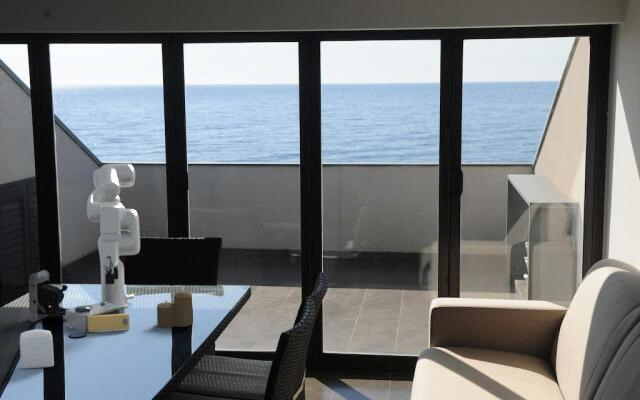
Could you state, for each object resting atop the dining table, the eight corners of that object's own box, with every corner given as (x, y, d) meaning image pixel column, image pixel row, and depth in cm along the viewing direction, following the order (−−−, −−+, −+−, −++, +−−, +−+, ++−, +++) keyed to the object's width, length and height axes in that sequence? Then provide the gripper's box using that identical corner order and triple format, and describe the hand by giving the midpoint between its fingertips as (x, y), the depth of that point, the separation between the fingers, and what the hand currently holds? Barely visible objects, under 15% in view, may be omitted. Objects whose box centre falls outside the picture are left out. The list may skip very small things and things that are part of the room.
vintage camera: (63, 325, 312) (64, 275, 310) (28, 322, 315) (28, 272, 313) (76, 319, 321) (76, 271, 319) (41, 316, 324) (41, 268, 322)
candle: (200, 321, 316) (199, 284, 315) (184, 329, 304) (183, 291, 302) (170, 318, 321) (169, 282, 319) (152, 326, 308) (151, 289, 306)
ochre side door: (129, 328, 304) (128, 311, 304) (129, 330, 302) (128, 313, 301) (85, 331, 300) (84, 314, 299) (85, 333, 298) (84, 316, 297)
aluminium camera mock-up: (105, 317, 322) (104, 298, 321) (124, 322, 314) (124, 303, 313) (66, 326, 309) (65, 307, 308) (85, 332, 300) (85, 312, 299)
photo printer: (19, 369, 256) (18, 332, 255) (22, 365, 261) (20, 329, 259) (52, 367, 258) (51, 331, 257) (54, 363, 262) (53, 327, 261)
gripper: (104, 233, 312) (106, 277, 313) (96, 240, 294) (97, 286, 296) (124, 233, 312) (125, 276, 314) (116, 240, 295) (118, 286, 297)
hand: (112, 281), depth 305 cm, fingers open, 8 cm apart
